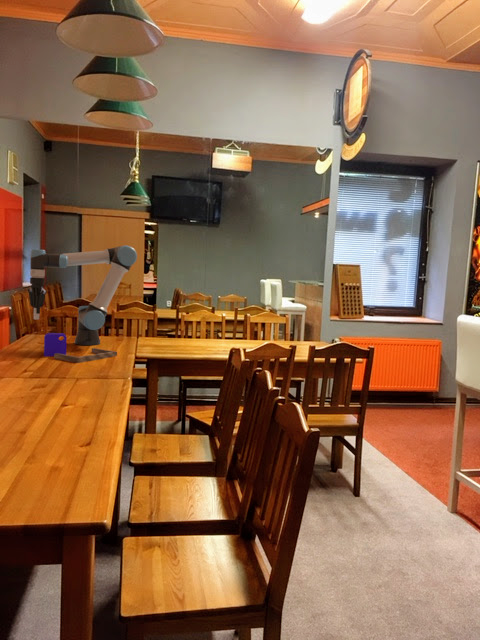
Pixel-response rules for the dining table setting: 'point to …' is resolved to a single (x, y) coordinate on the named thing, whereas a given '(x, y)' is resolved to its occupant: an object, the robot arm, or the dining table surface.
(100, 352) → the handle
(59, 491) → the dining table surface
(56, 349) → the bracket
